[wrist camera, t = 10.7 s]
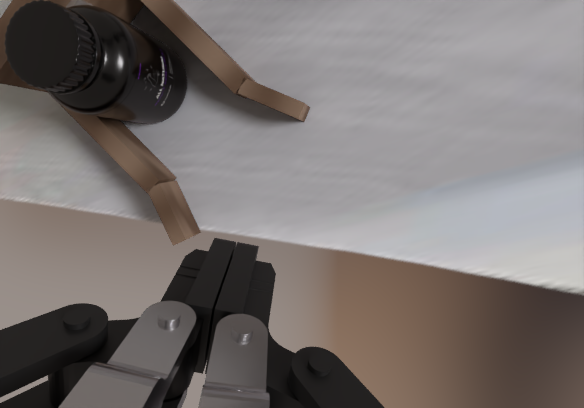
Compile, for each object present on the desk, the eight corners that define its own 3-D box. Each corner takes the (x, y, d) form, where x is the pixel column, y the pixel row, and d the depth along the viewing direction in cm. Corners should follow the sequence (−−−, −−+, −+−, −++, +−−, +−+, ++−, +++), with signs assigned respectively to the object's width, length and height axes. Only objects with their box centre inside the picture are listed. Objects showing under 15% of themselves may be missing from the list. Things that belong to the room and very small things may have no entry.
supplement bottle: (204, 99, 33) (117, 71, 22) (138, 138, 35) (23, 131, 23) (166, 24, 33) (57, -46, 21) (101, 66, 35) (-34, 22, 23)
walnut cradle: (313, 111, 32) (297, 98, 24) (192, 241, 35) (143, 266, 27) (153, -48, 32) (86, -110, 25) (48, 94, 36) (-40, 78, 28)
